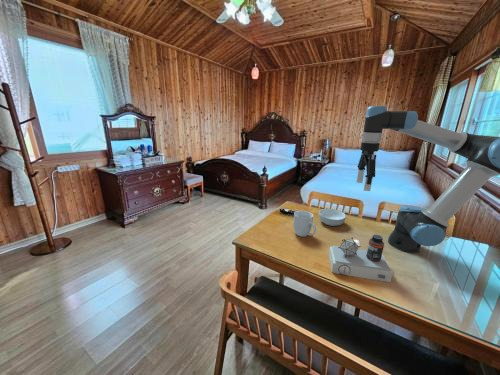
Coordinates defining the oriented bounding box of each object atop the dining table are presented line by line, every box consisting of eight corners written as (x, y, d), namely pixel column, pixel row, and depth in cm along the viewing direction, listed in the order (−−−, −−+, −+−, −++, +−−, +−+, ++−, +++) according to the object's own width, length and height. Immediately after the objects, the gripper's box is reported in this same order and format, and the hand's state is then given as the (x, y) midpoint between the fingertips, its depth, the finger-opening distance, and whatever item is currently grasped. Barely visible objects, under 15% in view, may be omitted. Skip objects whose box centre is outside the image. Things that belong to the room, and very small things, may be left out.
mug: (320, 238, 127) (323, 217, 123) (307, 244, 121) (310, 222, 117) (300, 228, 139) (302, 209, 135) (288, 232, 133) (290, 213, 129)
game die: (350, 263, 102) (364, 256, 94) (333, 255, 103) (345, 247, 95) (352, 246, 108) (364, 238, 100) (335, 239, 108) (347, 230, 100)
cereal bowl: (314, 217, 154) (316, 208, 152) (338, 217, 154) (339, 208, 152) (322, 229, 138) (323, 219, 136) (348, 229, 138) (350, 219, 136)
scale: (380, 262, 107) (382, 251, 105) (391, 283, 93) (394, 271, 91) (328, 254, 112) (330, 244, 110) (331, 273, 98) (333, 262, 97)
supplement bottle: (375, 254, 103) (380, 233, 100) (383, 262, 97) (388, 240, 94) (363, 254, 103) (367, 233, 99) (370, 262, 97) (375, 240, 94)
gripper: (355, 139, 112) (349, 179, 118) (369, 144, 89) (361, 194, 95) (371, 139, 110) (364, 180, 117) (390, 145, 87) (379, 195, 94)
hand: (362, 186), depth 106 cm, fingers open, 13 cm apart
